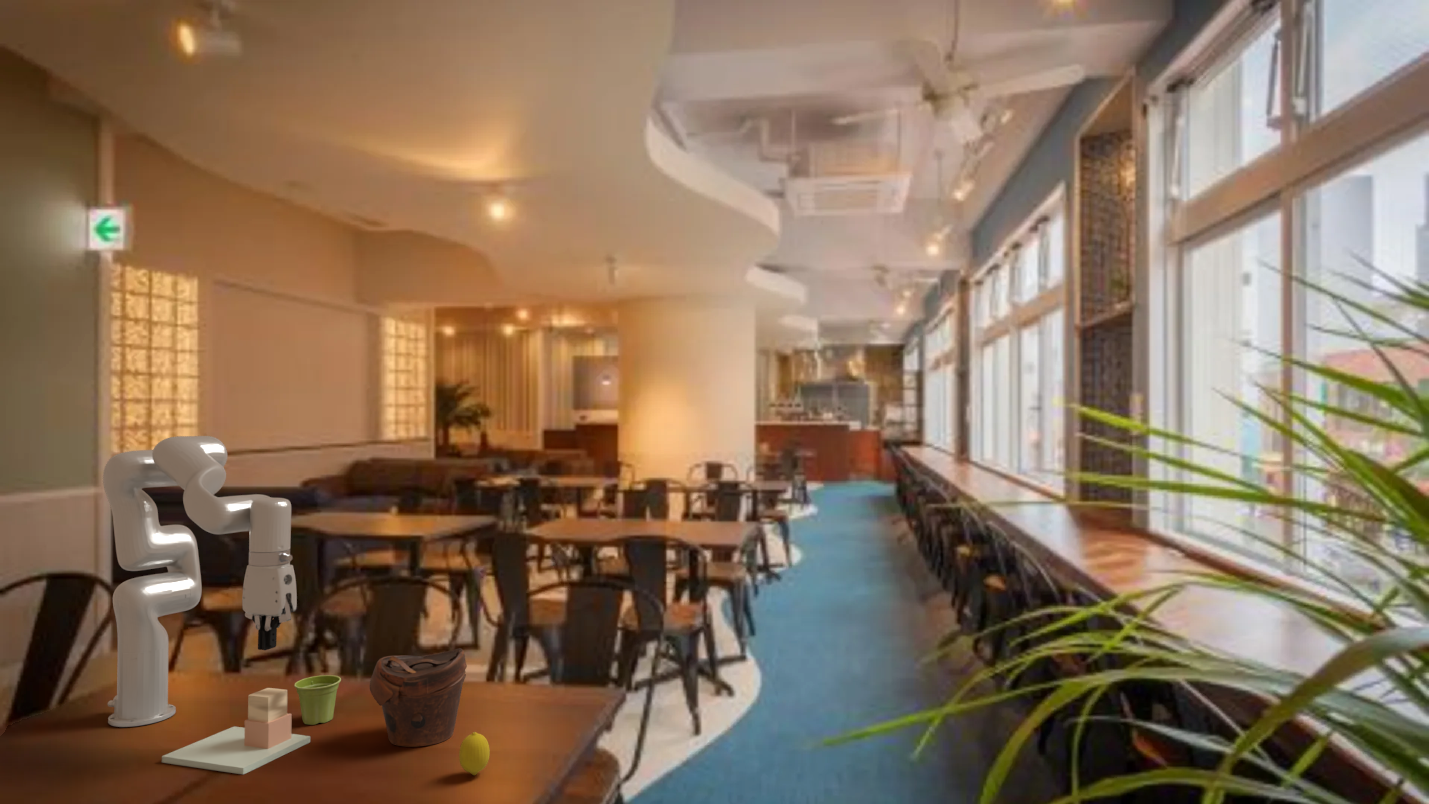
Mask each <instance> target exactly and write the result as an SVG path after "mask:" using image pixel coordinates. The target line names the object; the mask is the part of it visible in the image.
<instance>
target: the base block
mask: <svg viewBox="0 0 1429 804" xmlns="http://www.w3.org/2000/svg"><path fill="white" fill-rule="evenodd" d="M292 716H293V715H292V713H288V712H287V715H284V716H282V717H280V718H277V719H275V720H273V721H270V722H260V721H252V720H248V718H247V719H245V720H244V728H245V739H244V746H251V747H259V748H266V749H269V748H271V747H273V746H275V745H278V744H280V743H282V742H284V741H286V740H288V739H291V734H292Z"/></svg>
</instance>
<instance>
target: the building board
mask: <svg viewBox="0 0 1429 804" xmlns="http://www.w3.org/2000/svg"><path fill="white" fill-rule="evenodd" d="M244 739H245V727H241V726H240V727H239V726H235V725H233V726H231V727H230V728H227V729H224V730H222V731H219V732H217V733H214V734H212V735H210V736H208V737H205V738H202V739H200V740H197V741H196V742H193V743H190V744H188V745H186V746H184V747H181V748H178V749H176V750H173V751H172V752H169V753H166V754H164V755H162V756H161V763H164V764H169V765H170V764H171V765H176V766H183V767H190V768H198V769H204V770H209V771H218V772H224V773H228V774H231V773H232V774H238V775H245V774H247V773H249V772H252V771H254V770H256V769H258V768H260V767H262V766H264V765H266V764H269V763H270V762H272V761H274V760H276V759H279V758H281V757H282V756H284V755H287V754H288V753H289V754H290V752H293V751H295V750H297V749H299V748H301V747H303V746H305V745H308V744H309V743H311V736H310V735H304V734H297V733H291V739H288V740H286V741H284V742H282V743H280V744H278V745H275V746H273V747H271V748H269V749H266V748H259V747H251V746H244Z"/></svg>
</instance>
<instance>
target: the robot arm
mask: <svg viewBox="0 0 1429 804" xmlns="http://www.w3.org/2000/svg"><path fill="white" fill-rule="evenodd" d="M227 462H228V451H227V448H226V445H225V444H224V443H223V442H222V441H221V440H220V439H219V438H218V437H217V438H216V437H215V436H212V435H211V436H210V435H193V436H192V435H187V436H186V435H184V436H183V435H182V436H181V435H179V436H171V437H167V438H163V439H162V440H160V441H159V442H157V444H156V445H155V446H154V448H153V449H143V450H131V451H130V450H129V451H125V452H120V453H117V454H115V455H113V456H112V457H110V459H108V461H107V462H106V463H105V466H104V468H103V474H102V485H103V490H104V494H105V495H106V498H107V502H108V503H109V507H110V509H111V515H112V520H113V521H112V523H113V532H114V542H115V552H116V558H117V562H118V565H119V566H120V567H121V569H123V570H125V571H130V572H138V571H147V570H151V569H152V570H153V569H159V568H167V572H163V573H155V574H154V573H153V574H148V575H143V576H136V577H134V578H133V577H132V578H130V579H127V580H125V581H123V582H122V583H120V584H118V586H117V587H116V588H115V590H114V592H113V595H112V606H113V611H114V616H115V621H116V631H117V665H116V666H117V671H116V672H117V674H116V676H117V679H116V695H115V696H114V697H113V700H112V699H111V700H109V701H108V702H107V707H109V708H114V709H113V710H114V711H113V713H112V714H110V715H109V716H108V718H107V719H108V720H107V723H108V725H110V726H112V727H117V728H118V727H119V728H128V727H129V728H131V727H140V726H146V725H151V724H155V723H159V722H161V721H164V720H167V719H168V718H169V719H170V718H171V717H172V716H174V715H175V714H176V713H177V711H176V710H177V708H176V706H175V705H173V704H170V703H169V635H168V631H167V630H166V628H165V627H164V626H163V625H162V623H160V621H159V619H158V618H159V617H163V616H167V615H172V614H176V613H177V614H178V613H183V612H186V611H189V610H192V609H194V608H195V607H196V606H197V605H199V602H200V601H201V597H202V588H203V587H202V575H201V565H200V557H199V549H198V542H197V538H196V536H195V534H194V533H193V531H192V530H191V529H190V528H189V527H187V526H186V525H183V524H168V525H161V524H160V522H159V513H158V512H159V511H158V507H157V504H156V503H155V501H154V500H153V498H152V497H151V496H150V495H149V494H148V493H146V492H145V491H144V490H143V489H146V488H162V487H177V486H178V487H180V488H181V489H182V490H184V491H183V495H182V501H183V507H184V510H185V513H186V515H187V517H188V518H189V519H190V520H191V521H192V522H194V524H196V525H197V526H198V527H199V528H201V529H202V530H204V531H205V532H208V533H210V534H213V535H225V534H233V533H240V532H249V538H248V539H249V540H248V542H249V543H248V545H249V546H248V549H249V550H248V565H246V569H245V574H244V580H243V585H242V598H241V601H242V602H241V603H242V610H243V611H244V612H245V613H244V616H245V618H247V619H249V620H252V621H253V623H254V624H255V625H254V626H255V629H256V630H257V631H258V632H257V633H258V634H257V650H259V651H268V650H270V649H274V648H276V647H277V638H278V637H277V634H278V633H277V630H278V628H280V627H281V624H283V623H286V622H290V621H291V620H292V615H291V613H293V612H296V611H297V607H298V606H297V605H298V604H297V602H298V601H297V599H298V596H297V595H298V594H297V592H298V591H297V581H296V580H297V579H296V574H295V570H294V565H293V564H291V561H292V560H293V559H294V558H293V554H291V539H292V538H291V531H292V504H291V501H290V499H288V498H284V497H272V496H271V497H270V496H269V495H266V494H257V493H255V494H254V493H253V494H242V495H241V494H240V495H228V496H220V497H218V496H216V495H215V494H217V493H218V492H219V491H220V490H221V488H222V487H223V486H224V485H225V482H226V479H227V472H226V469H225V468H224V467H225V466H226V464H227Z"/></svg>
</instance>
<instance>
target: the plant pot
mask: <svg viewBox="0 0 1429 804" xmlns="http://www.w3.org/2000/svg"><path fill="white" fill-rule="evenodd" d="M341 681H342V678H341V677H340V676H338V675H335V674H334V675H332V674H330V675H329V674H328V675H327V674H325V675H324V674H323V675H314V676H310V677H305V678H302V679H300V680H298V681H296V682H294V686H293V687H294V688H295V690H296V692H297V694H298V698H299V699H298V700H299V706H300V711H301V719H302V723H303V724H304V725H309V726H310V725H311V726H313V725H314V726H315V725H317V724H319V723H321V724H325V723H328V722H330V721H331V720H333V719H334V712H335V706H336V698H337V691H338V689H339V685H340V683H341Z"/></svg>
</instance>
